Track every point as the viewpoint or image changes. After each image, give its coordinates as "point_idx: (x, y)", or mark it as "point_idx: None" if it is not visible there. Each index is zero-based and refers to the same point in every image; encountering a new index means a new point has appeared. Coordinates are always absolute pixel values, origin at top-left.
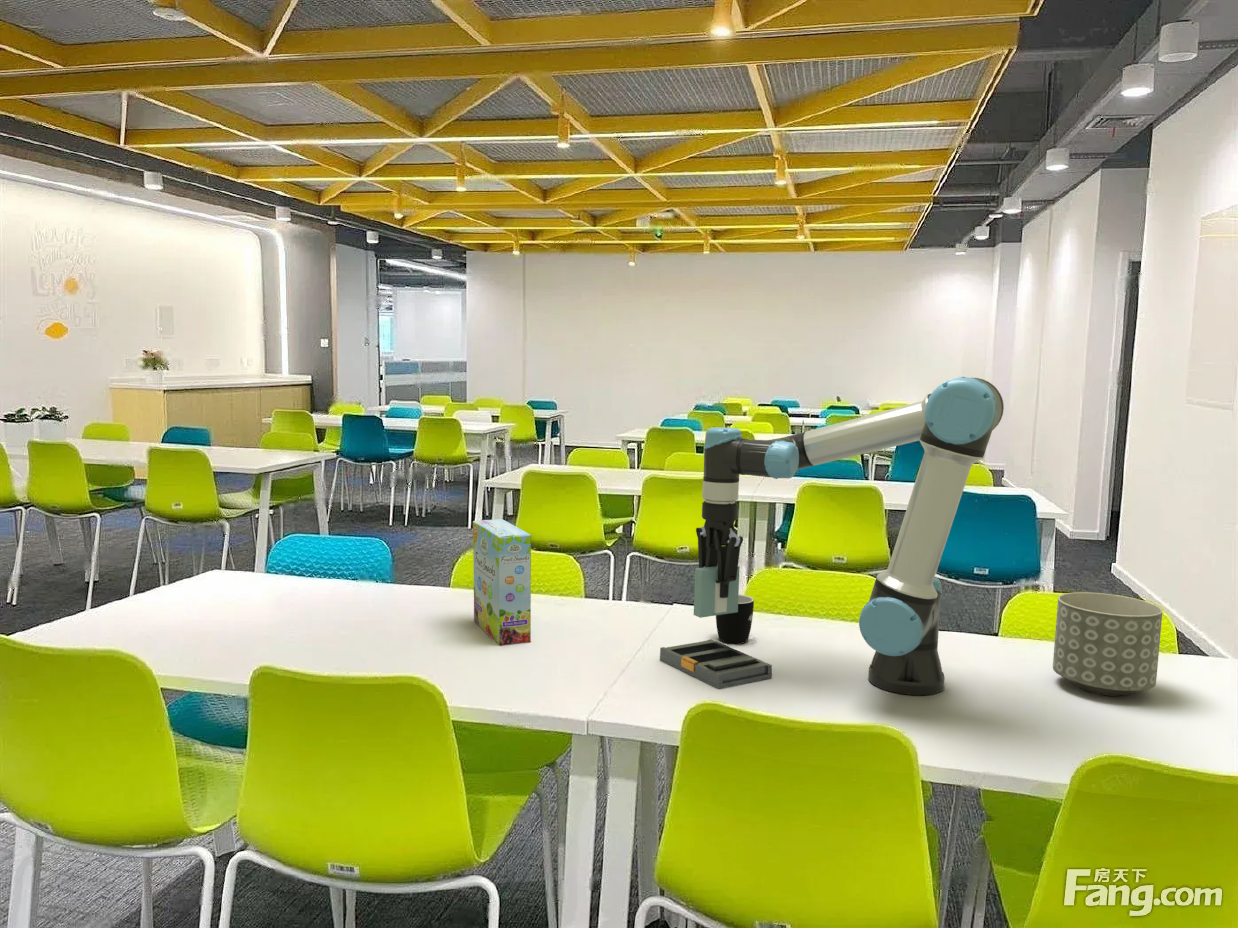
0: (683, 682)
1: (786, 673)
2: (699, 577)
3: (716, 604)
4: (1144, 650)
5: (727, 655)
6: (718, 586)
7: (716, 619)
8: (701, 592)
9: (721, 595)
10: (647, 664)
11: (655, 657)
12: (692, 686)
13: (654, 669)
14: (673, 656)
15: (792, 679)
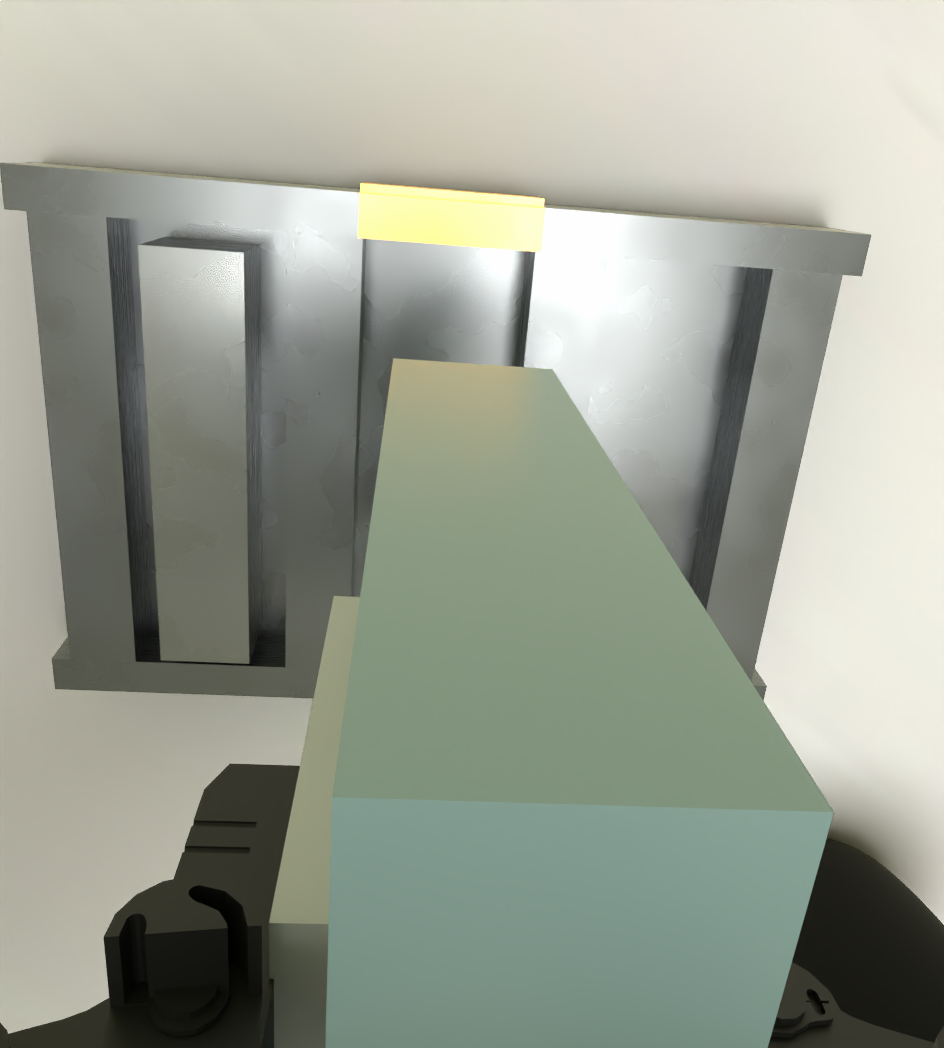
0: (304, 16)
1: (125, 769)
2: (482, 633)
3: (326, 654)
4: None
5: None
6: (282, 879)
7: (936, 930)
8: (377, 479)
9: (252, 790)
10: (813, 58)
11: (891, 240)
12: (189, 15)
13: (686, 22)
14: (666, 217)
15: (12, 729)
